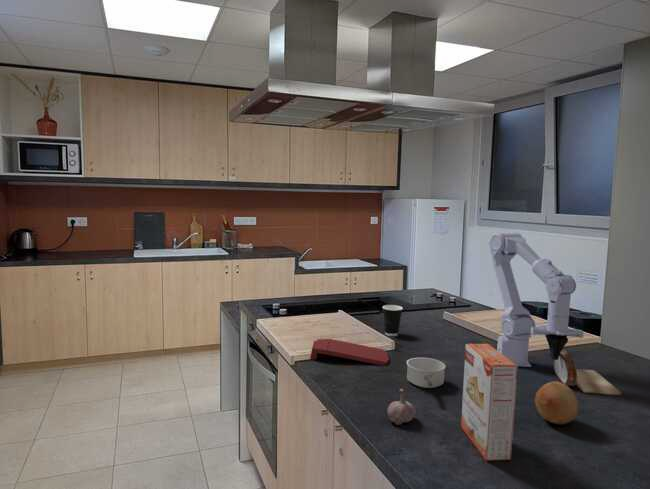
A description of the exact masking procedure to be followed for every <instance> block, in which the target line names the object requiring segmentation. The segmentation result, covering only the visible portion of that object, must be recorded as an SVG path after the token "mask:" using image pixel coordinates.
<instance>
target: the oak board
mask: <svg viewBox="0 0 650 489" xmlns="http://www.w3.org/2000/svg"><path fill="white" fill-rule="evenodd" d="M576 370H577V381H576V385H575V386H577V387H578V388H579V389H580V391H582V392H583V393H589V394H590V393H591V394H600V395H601V394H602V395H616V396H622V391H620V390H619V389H618V388H617V387H615V386H614V385H613V384H612V383H610V382H609V381H608V380H606V378H604V377H603V376H602V375H601V374H599V373H598V372H597V371H595V370H594V369H580V368H579V369H578V368H576Z"/></svg>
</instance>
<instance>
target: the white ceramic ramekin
mask: <svg viewBox="0 0 650 489" xmlns="http://www.w3.org/2000/svg"><path fill="white" fill-rule="evenodd" d="M405 363H406V365H407V368H406V369H407V371H406V380H407V381H408V382H409V383H412V385H414V386H417V387H420V388H424V389H426V388H427V389H433V388H437V387H440V386H441V385H443V384H444V383H445V370H446V368H447V365H446V364H445V363H444V362H443V361H440V360H438V359H435V358H430V357H413V358H410V359H408V360H406V362H405Z"/></svg>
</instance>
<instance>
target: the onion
mask: <svg viewBox="0 0 650 489" xmlns="http://www.w3.org/2000/svg"><path fill="white" fill-rule="evenodd" d="M534 403H535V407H536V410H537V412H538V414H539V415H541V417H542V418H544V420H546V421H548V422H549V423H552V424H555V425H565V424H569V423H570V422H572V421H573V420H574V419H575V418H576V417H577V415H578V414H579V411H580V407H581V406H580V403H579V400H578V398H577V395H576V394H575V392H574V391H573V390H572V389H571V388H570V386H566V385H565V384H563V383H562V382H561V381H556V380H555V381H549V382H547V383H545V384H544V385H541V387H540V388H538V390H537V391H536V393H535V397H534Z"/></svg>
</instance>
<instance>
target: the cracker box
mask: <svg viewBox="0 0 650 489" xmlns="http://www.w3.org/2000/svg"><path fill="white" fill-rule="evenodd" d="M518 368H519V366H517V365H516V364H514V363H513V362H512V361H510V360H509V359H508V358H506V357H505V356H504V355H502V354H501V353H500V352H498V351H497V348H494V347H493V346H492V345H491V344H489V343H466V344H465V352H464V368H463V369H464V370H463V371H464V372H463V385H462V386H463V388H462V404H461V406H462V407H461V422H460V428H461V429H462V430H463V432H464V433H465V434H466V435H467V437H468V438H469V440H470V441H471V443H472V445H474V446H475V448H476V449H477V451H478V452H479V453H480V454H481V456H482V457H483V459H484V461H486V462H489V461H511V460H512V450H513V437H514V436H513V435H514V421H515V409H516V408H515V406H516V394H517V393H516V392H517V381H518V380H517V379H518Z"/></svg>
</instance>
